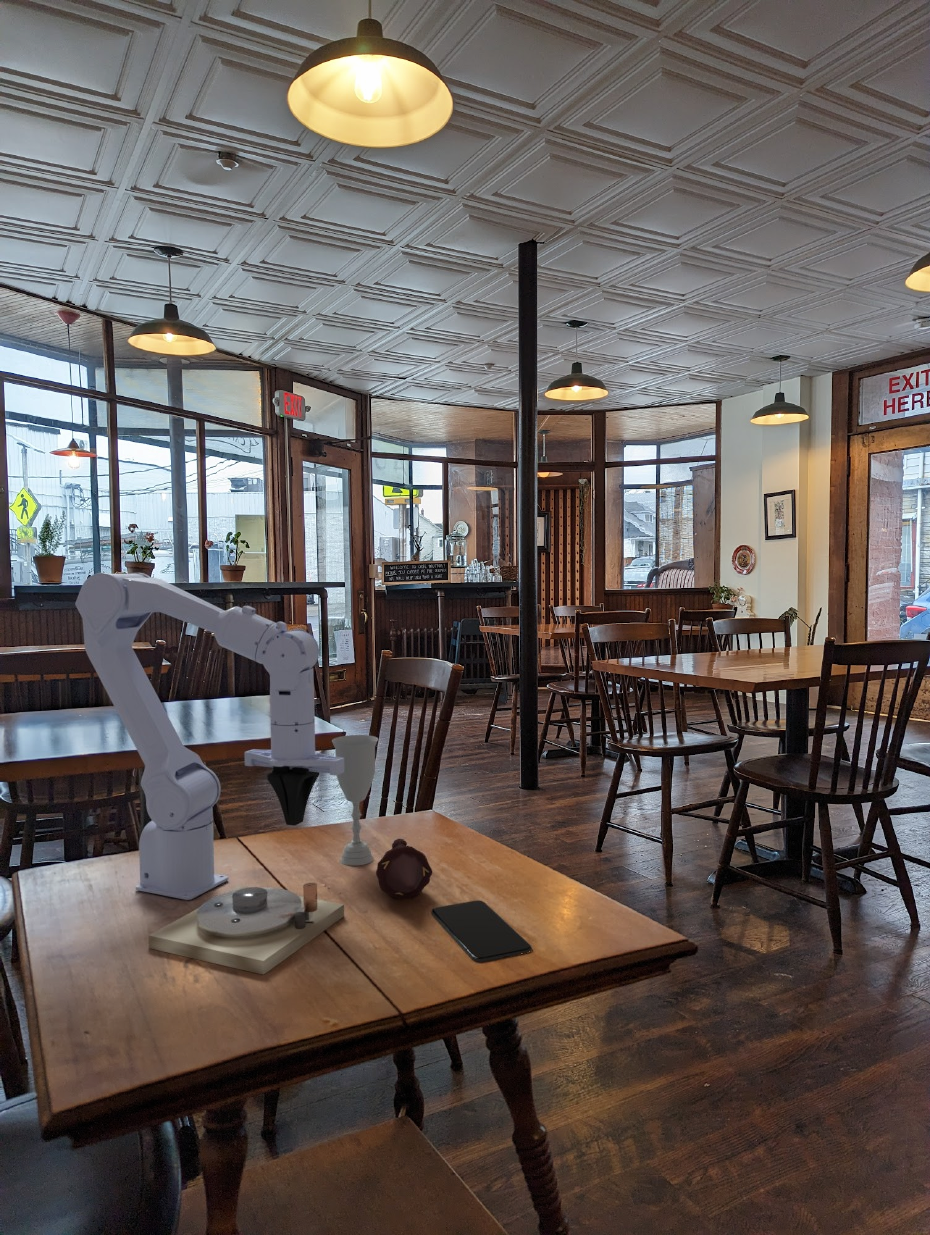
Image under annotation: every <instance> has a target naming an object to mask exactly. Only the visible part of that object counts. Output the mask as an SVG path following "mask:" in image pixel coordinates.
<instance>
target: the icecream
mask: <svg viewBox="0 0 930 1235" xmlns="http://www.w3.org/2000/svg"><path fill="white" fill-rule="evenodd" d="M376 868H377V869H376V870H375V875H376V878H377V880H378V884H379V885H378V886H379V888H380V890H381V892H383V893H384V894H386V895H388V896H390V897H393V898H395V899H396V900H403V899H410V898H411V899H412V898H416V897H418V896H419V895H420V894H421V893H422V891H423V890H424V889H425V887H427V886H428V885H429V883H430V882H431V879H430V878H431V876H432V875H433V870H432V867H431V866H430V863H429V861H428V859H427V856H426V855H425V853H423V852H421V851H420V850H418V849H416V848H415V847H413V846H410V845H408V843H407V841H406V840H405V839H404V838H398V839H395V840H394V841H393V842H392V844H391V849H389V850H387V851H386V852H385V853H384V855H383V856H382V857H381V859H380V860H379V861H378V863H377V867H376Z"/></svg>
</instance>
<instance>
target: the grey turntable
mask: <svg viewBox="0 0 930 1235" xmlns="http://www.w3.org/2000/svg"><path fill="white" fill-rule="evenodd" d="M248 887H249V886H248ZM302 888H303V889H302V891H303V892H302V893H303V896H302V897H303V899H304V908H302V902H301V899H300V897H299V896H300V895H298V894H297V893H295V892H292V891H291V890H288V889H283V888H279V887H270V886H269V887H268V886H267V887H266V886H265V887H264V886H263V887H261V886H260V887H259V886H251V887H249V888H243V889H240V890H235V891H231V890H230V891H231V892H229V891H227V892H225V893H221V894H218V895H216V896H213V897H211V898H209V899H208V900H206V901H205V902H204V903H202V904H201V905H200V906H199V907H198V908H199V909H198V908H197V909H198V911H197V924H198V926H199V928H200V929H201V930H203V931H204V932H206V933H209V934H211V935H215V936H221V937H233V938H238V937H251V936H258V935H263V934H267V933H271V932H274V931H277V930H280V929H283V928H285V927H287V926H289V925H290V924H292V923H293V922H295V914H296V913H299V912H304V913H305V919H306V921H309V920H310V919H311V918H312V912H314V911H316V910H317V909H318V907H317V900H318V884H317V883H316V882H307V883H304V884H303V887H302Z"/></svg>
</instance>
